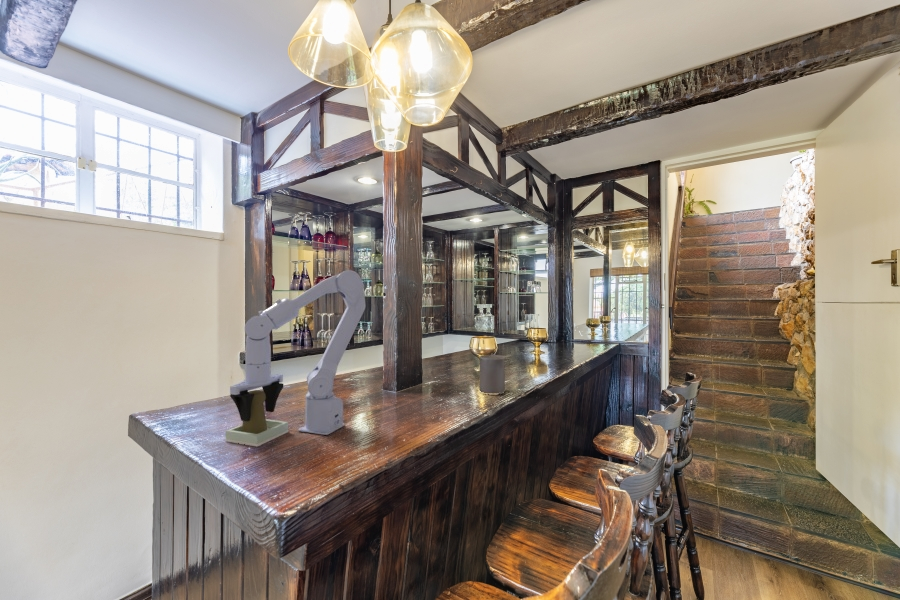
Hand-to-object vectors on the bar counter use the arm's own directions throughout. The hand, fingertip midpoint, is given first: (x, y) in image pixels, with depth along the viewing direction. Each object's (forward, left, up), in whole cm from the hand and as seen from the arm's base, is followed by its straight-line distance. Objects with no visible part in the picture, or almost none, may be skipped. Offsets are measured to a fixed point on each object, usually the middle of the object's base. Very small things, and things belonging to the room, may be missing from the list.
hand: (258, 415), depth 91 cm
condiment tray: (0, 0, -5) cm, 5 cm away
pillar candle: (-48, -63, -6) cm, 79 cm away
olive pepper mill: (+1, 0, -5) cm, 5 cm away
